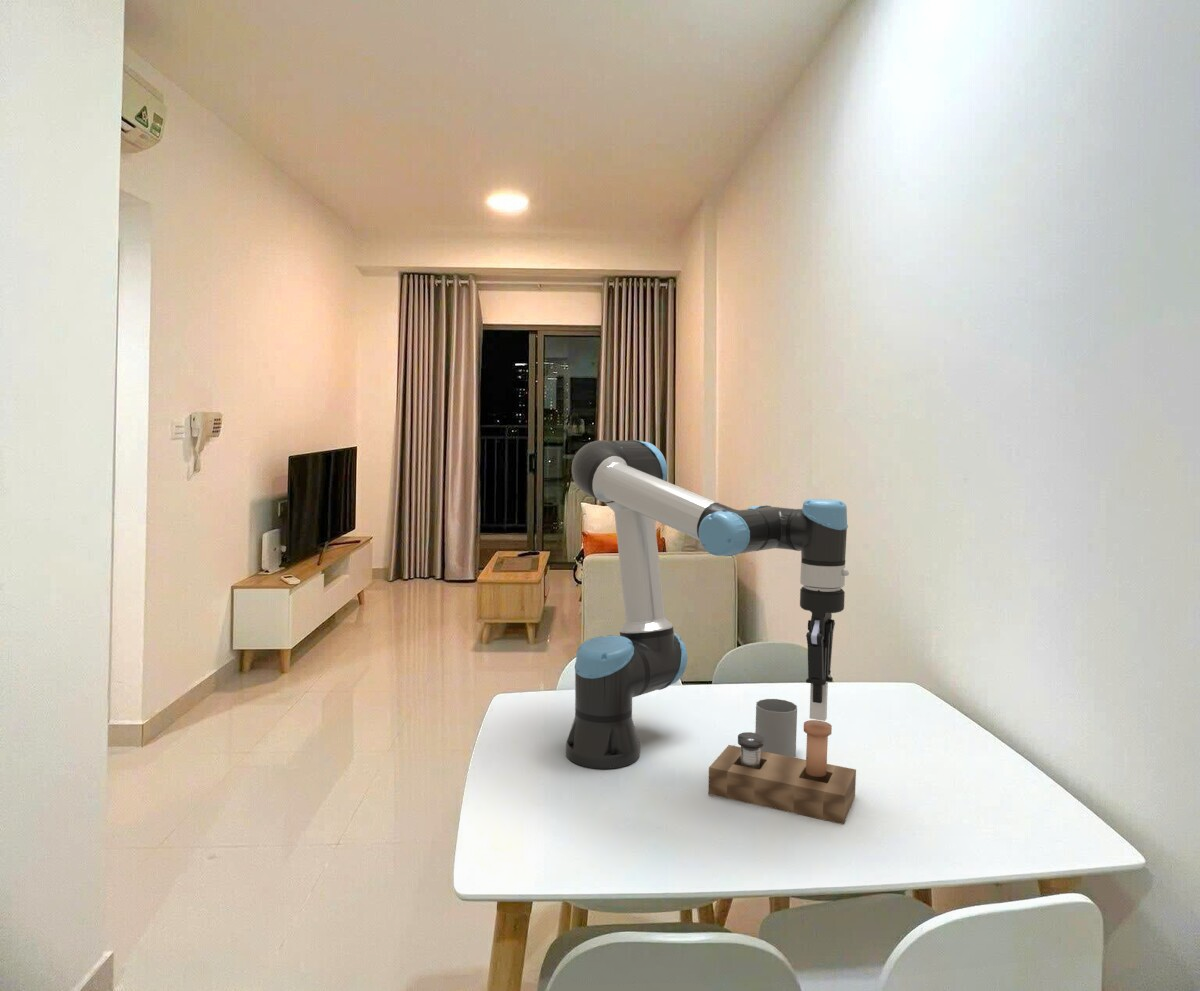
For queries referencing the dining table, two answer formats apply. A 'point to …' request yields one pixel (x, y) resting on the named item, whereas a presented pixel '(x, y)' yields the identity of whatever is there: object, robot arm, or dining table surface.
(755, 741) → the plug grey
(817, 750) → the plug terracotta
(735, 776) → the socket block
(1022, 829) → the dining table surface
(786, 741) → the cup
